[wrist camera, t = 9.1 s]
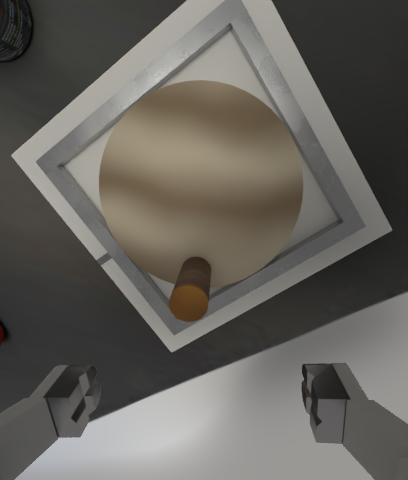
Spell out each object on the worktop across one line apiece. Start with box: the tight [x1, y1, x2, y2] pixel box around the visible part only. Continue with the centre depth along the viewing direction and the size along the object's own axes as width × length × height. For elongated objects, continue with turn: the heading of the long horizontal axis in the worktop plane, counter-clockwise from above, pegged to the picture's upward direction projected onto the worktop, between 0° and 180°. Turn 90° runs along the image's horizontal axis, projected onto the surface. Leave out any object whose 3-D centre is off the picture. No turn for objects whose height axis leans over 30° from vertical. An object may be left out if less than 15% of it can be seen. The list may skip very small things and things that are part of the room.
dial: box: [99, 80, 303, 322], centre depth 18 cm, size 15×15×7 cm
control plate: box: [11, 0, 392, 353], centre depth 22 cm, size 22×22×4 cm
